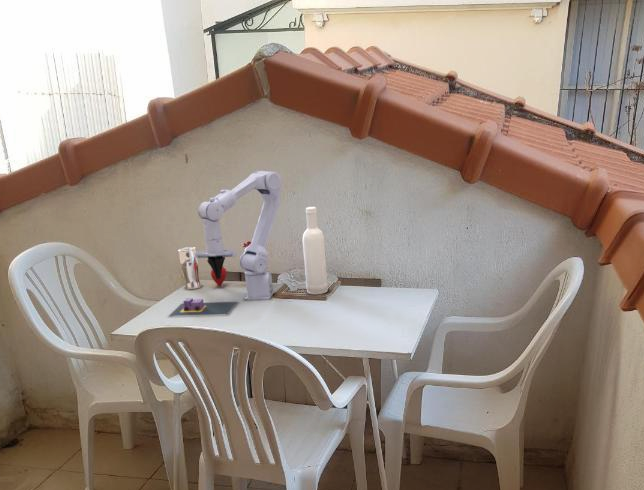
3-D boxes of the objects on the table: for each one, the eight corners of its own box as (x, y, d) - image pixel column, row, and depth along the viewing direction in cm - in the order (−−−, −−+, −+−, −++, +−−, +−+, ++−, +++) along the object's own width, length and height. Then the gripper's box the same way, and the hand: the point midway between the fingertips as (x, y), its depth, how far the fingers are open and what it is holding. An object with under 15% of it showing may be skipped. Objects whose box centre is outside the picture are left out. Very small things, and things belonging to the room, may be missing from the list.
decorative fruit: (230, 283, 276) (227, 258, 271) (224, 288, 269) (220, 263, 264) (216, 283, 277) (212, 258, 272) (210, 289, 270) (206, 263, 266)
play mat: (237, 302, 252) (237, 301, 252) (227, 315, 240) (226, 314, 240) (182, 304, 255) (182, 303, 255) (169, 316, 243) (169, 315, 243)
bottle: (330, 288, 259) (324, 205, 245) (325, 294, 252) (319, 209, 238) (309, 288, 261) (302, 205, 247) (304, 294, 254) (297, 210, 240)
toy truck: (204, 306, 250) (203, 297, 248) (200, 310, 245) (198, 301, 244) (187, 306, 251) (186, 297, 249) (183, 311, 246) (181, 302, 245)
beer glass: (194, 290, 271) (187, 251, 264) (181, 288, 275) (174, 250, 268) (205, 285, 276) (199, 247, 269) (192, 284, 280) (186, 246, 273)
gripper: (189, 242, 235) (195, 281, 242) (230, 240, 233) (235, 280, 239) (195, 237, 241) (201, 276, 248) (236, 236, 239) (240, 275, 245)
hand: (218, 278), depth 244 cm, fingers closed
